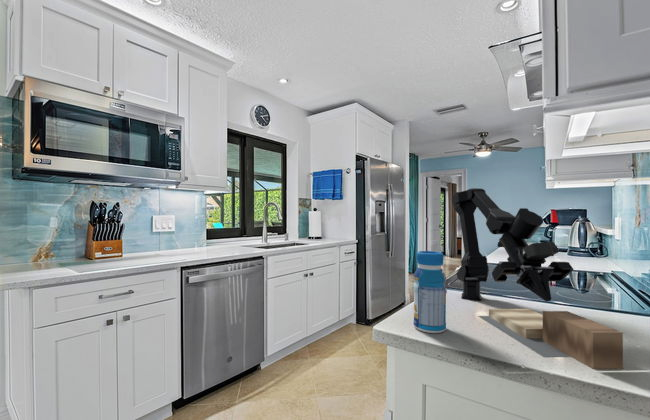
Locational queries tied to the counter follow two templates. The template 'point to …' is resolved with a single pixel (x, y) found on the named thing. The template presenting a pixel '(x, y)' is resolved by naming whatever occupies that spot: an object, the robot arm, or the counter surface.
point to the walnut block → (584, 339)
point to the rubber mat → (528, 340)
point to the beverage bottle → (430, 293)
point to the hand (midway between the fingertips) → (548, 300)
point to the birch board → (520, 321)
